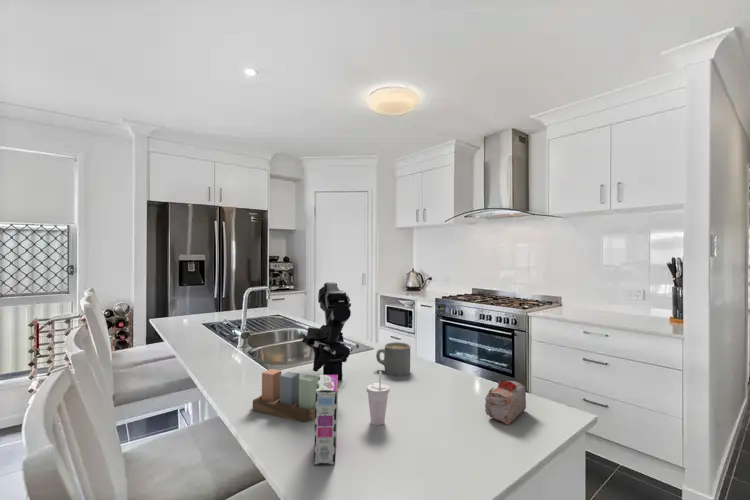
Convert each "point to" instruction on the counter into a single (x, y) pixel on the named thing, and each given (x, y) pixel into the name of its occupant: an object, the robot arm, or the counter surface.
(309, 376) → the sage key
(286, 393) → the grey tall block
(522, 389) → the food item
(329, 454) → the candy bar box
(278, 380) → the pink rectangular block
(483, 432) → the counter surface
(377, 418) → the smoothie
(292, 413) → the wooden slotted rack
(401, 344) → the coffee mug
